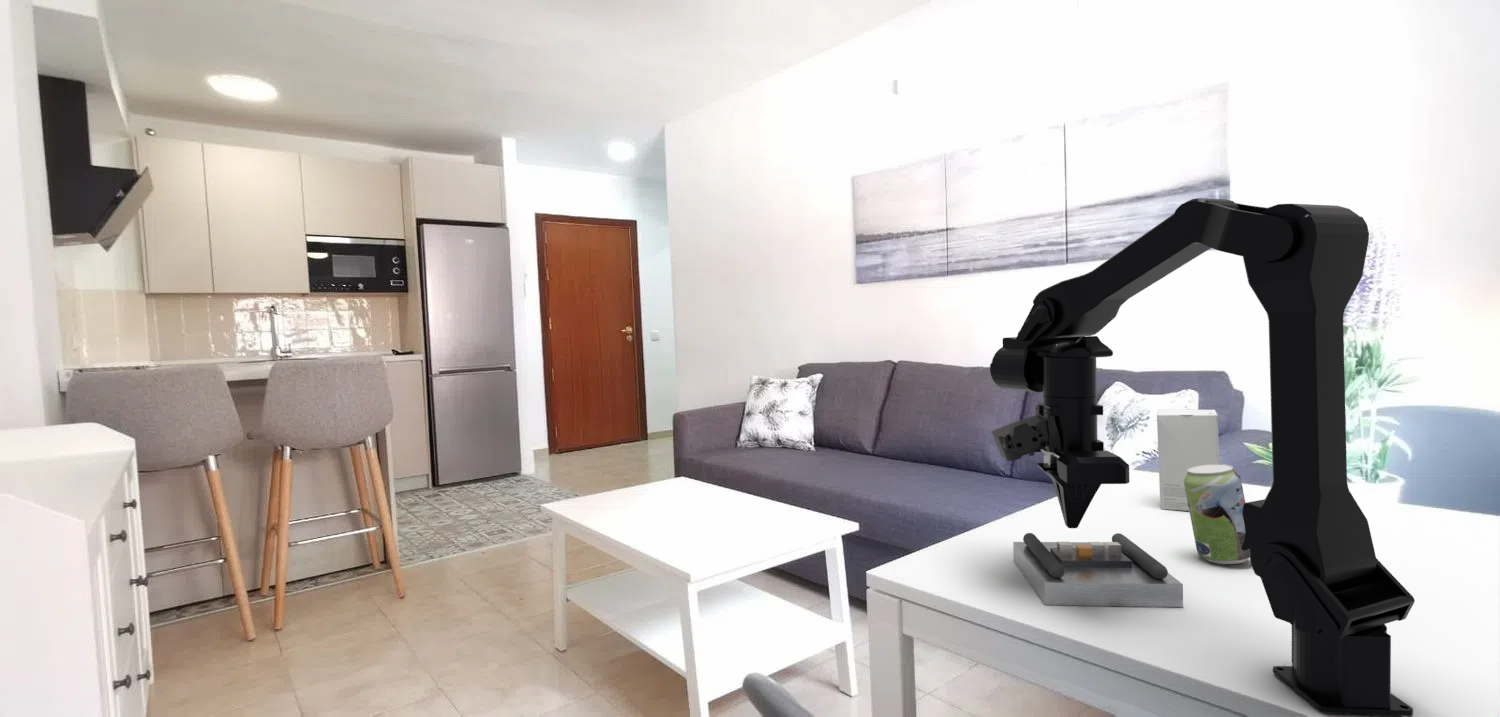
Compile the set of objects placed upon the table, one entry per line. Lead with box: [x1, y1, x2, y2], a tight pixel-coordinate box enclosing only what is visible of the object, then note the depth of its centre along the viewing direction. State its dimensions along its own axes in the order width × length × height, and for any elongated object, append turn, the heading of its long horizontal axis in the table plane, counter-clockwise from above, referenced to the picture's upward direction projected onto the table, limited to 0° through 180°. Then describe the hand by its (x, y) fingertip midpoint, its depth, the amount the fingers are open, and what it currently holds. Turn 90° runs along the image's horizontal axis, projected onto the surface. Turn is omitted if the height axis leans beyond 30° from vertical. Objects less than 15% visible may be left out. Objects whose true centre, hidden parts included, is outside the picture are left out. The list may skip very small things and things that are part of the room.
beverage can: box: [1184, 463, 1250, 565], centre depth 86 cm, size 6×7×12 cm
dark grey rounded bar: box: [1022, 532, 1065, 578], centre depth 81 cm, size 13×2×2 cm, turn 172°
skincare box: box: [1156, 408, 1220, 512], centre depth 110 cm, size 8×7×16 cm
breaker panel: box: [1012, 541, 1184, 608], centre depth 81 cm, size 14×14×4 cm
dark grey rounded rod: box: [1111, 532, 1169, 579], centre depth 80 cm, size 13×2×2 cm, turn 172°
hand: (1071, 527), depth 81 cm, fingers closed
